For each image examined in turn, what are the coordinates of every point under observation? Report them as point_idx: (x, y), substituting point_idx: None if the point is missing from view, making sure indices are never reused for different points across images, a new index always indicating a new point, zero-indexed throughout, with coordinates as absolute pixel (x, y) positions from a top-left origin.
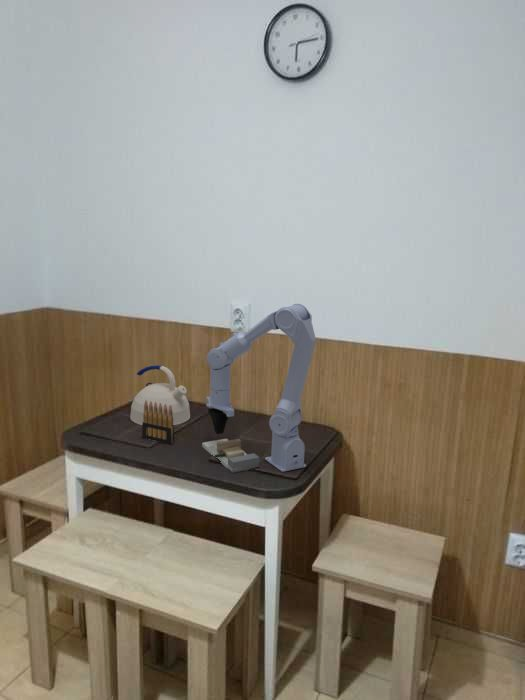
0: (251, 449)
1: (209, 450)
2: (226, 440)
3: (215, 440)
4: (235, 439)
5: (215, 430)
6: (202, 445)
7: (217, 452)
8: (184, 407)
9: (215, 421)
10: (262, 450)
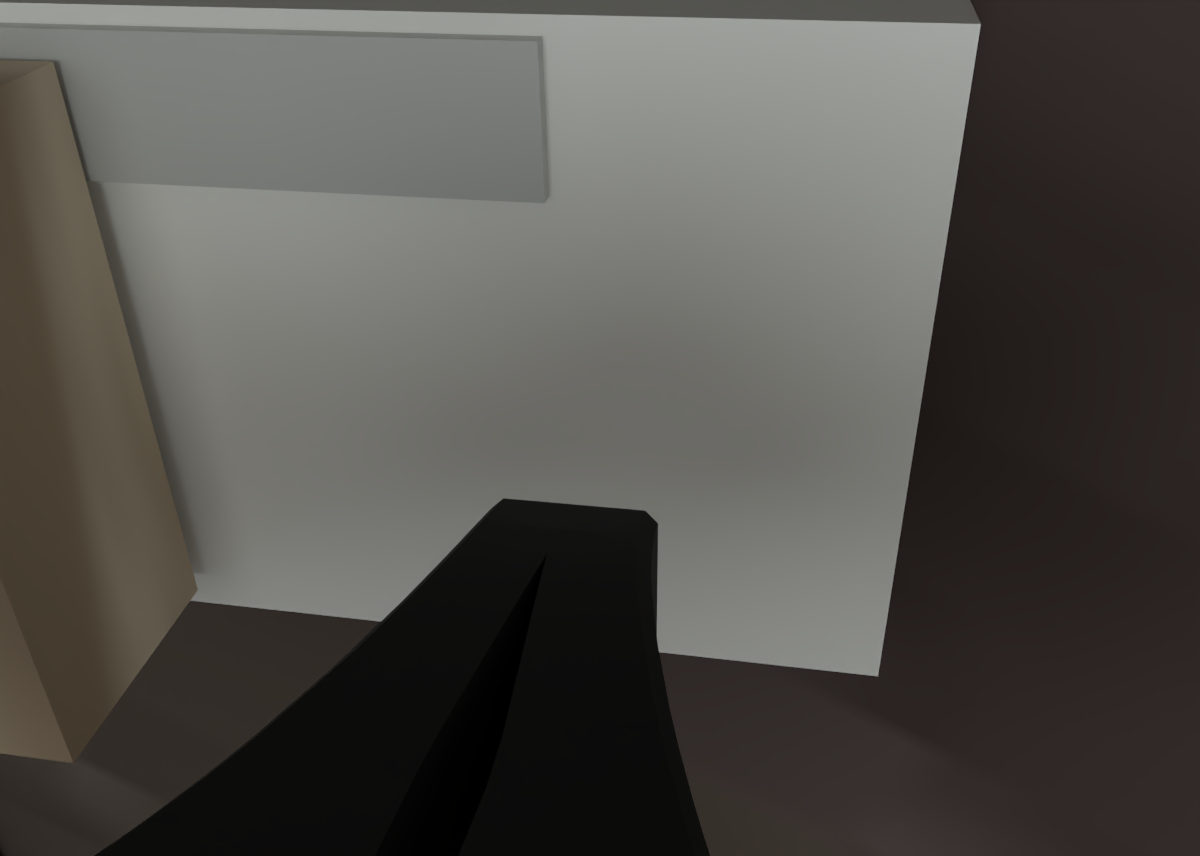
0: None
1: (431, 1)
2: (771, 626)
3: (910, 434)
4: (29, 681)
5: (553, 551)
6: (940, 5)
7: (6, 65)
8: None
9: (212, 845)
10: None
